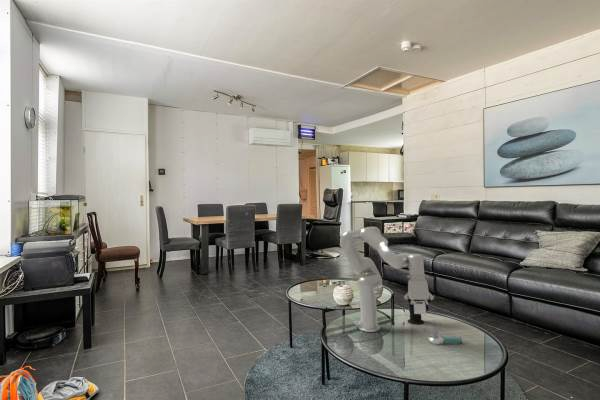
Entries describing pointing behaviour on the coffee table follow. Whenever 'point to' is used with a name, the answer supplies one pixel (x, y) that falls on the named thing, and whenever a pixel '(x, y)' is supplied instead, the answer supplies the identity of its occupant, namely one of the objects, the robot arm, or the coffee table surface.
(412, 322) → the handle grip
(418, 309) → the hollow white cube
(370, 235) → the robot arm
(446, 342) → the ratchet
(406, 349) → the coffee table surface
